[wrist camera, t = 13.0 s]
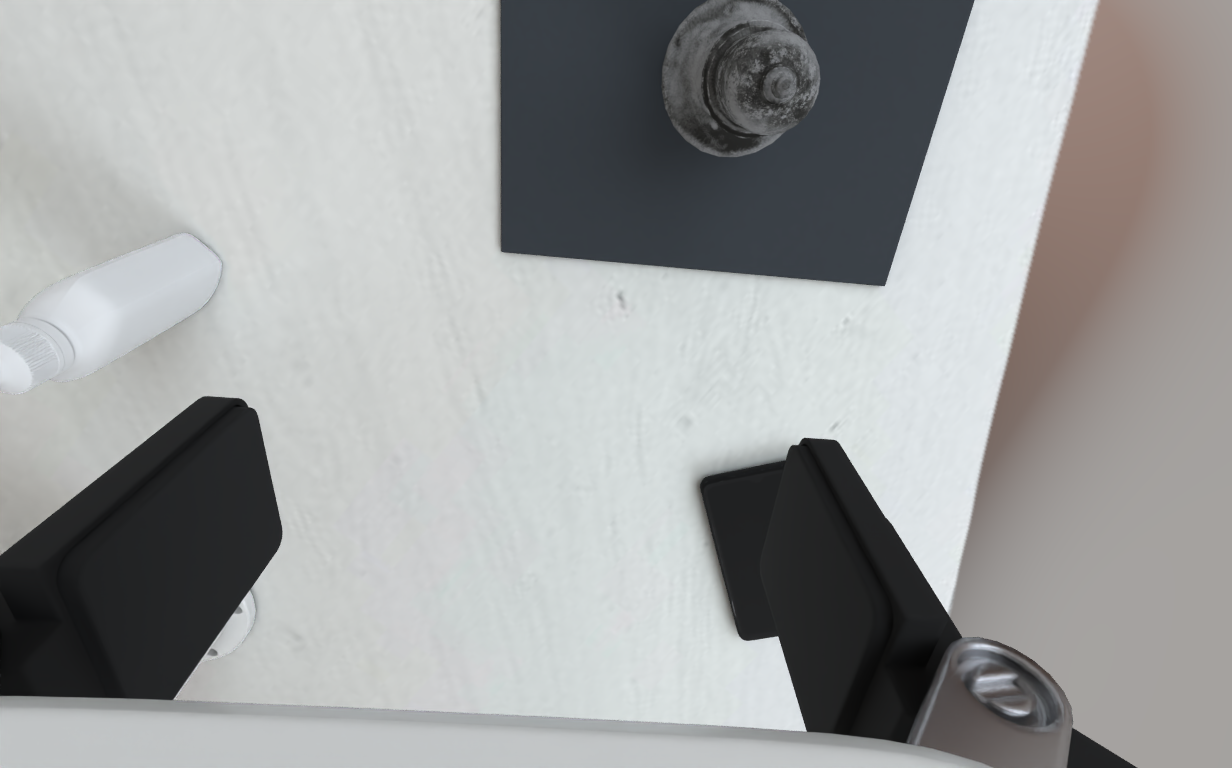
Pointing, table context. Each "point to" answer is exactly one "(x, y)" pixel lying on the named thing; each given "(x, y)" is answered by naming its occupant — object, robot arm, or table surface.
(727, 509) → the smartphone
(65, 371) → the eye dropper bottle
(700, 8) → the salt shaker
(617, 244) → the mat
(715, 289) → the table surface
